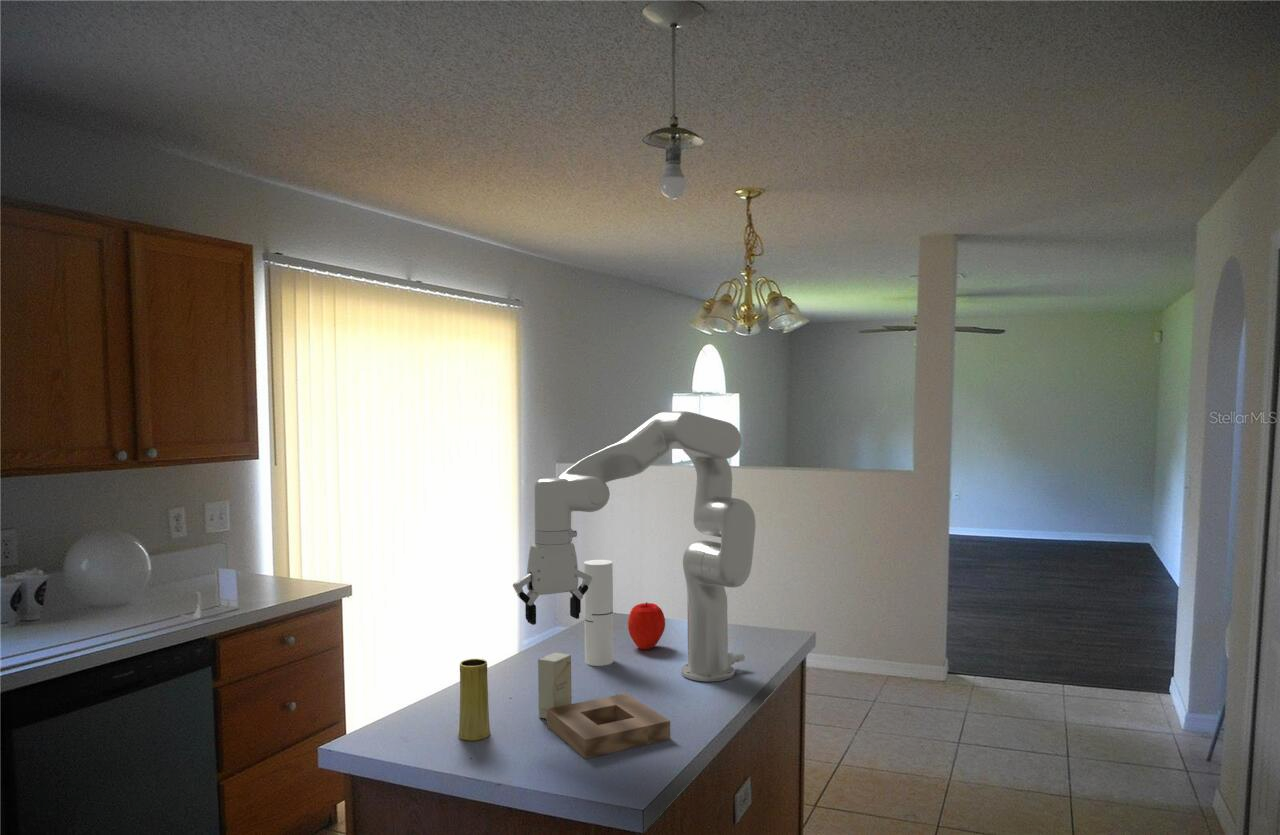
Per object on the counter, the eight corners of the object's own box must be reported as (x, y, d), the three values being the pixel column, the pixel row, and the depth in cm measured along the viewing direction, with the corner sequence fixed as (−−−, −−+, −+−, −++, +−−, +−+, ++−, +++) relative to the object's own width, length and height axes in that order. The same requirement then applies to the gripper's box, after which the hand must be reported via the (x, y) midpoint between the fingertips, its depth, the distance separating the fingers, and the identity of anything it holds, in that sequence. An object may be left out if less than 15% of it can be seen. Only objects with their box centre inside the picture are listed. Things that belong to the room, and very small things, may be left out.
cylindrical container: (609, 666, 207) (608, 565, 206) (581, 665, 208) (580, 564, 208) (616, 658, 214) (615, 560, 213) (589, 656, 215) (588, 559, 215)
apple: (665, 653, 217) (665, 606, 217) (627, 653, 217) (627, 606, 217) (665, 642, 227) (664, 597, 227) (628, 643, 227) (628, 598, 227)
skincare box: (555, 721, 171) (554, 662, 171) (537, 717, 173) (536, 659, 173) (572, 711, 176) (572, 654, 176) (555, 708, 179) (554, 651, 178)
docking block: (626, 709, 177) (625, 693, 177) (670, 738, 162) (670, 720, 161) (546, 726, 168) (546, 708, 168) (585, 758, 153) (585, 739, 153)
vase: (460, 729, 167) (459, 658, 167) (491, 728, 168) (490, 657, 167) (456, 742, 161) (455, 667, 161) (488, 740, 162) (487, 666, 161)
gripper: (583, 532, 182) (583, 611, 182) (507, 538, 173) (507, 621, 174) (598, 537, 175) (598, 619, 175) (520, 543, 167) (520, 629, 167)
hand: (553, 620), depth 174 cm, fingers open, 9 cm apart
